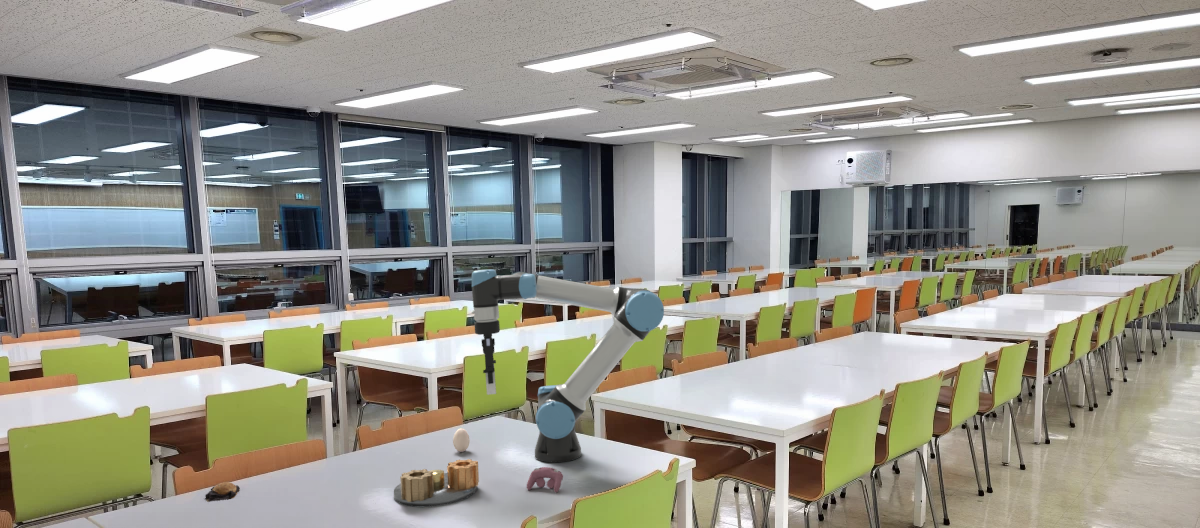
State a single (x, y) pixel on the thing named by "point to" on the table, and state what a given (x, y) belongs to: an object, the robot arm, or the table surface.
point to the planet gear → (463, 474)
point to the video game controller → (543, 473)
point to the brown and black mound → (222, 492)
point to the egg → (461, 440)
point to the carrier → (428, 489)
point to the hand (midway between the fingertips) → (491, 389)
